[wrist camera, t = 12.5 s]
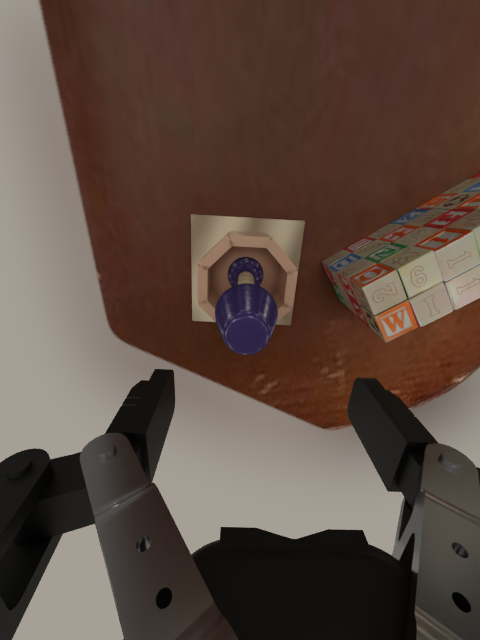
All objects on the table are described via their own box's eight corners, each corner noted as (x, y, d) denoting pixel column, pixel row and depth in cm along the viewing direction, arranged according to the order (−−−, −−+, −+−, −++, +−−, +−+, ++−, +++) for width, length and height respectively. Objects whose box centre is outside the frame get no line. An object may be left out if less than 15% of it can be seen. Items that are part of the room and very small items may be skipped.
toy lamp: (246, 301, 33) (255, 380, 18) (215, 279, 32) (195, 342, 16) (270, 270, 32) (304, 326, 16) (239, 246, 31) (242, 281, 15)
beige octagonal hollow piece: (290, 234, 31) (302, 239, 25) (280, 314, 35) (289, 333, 29) (204, 229, 31) (197, 233, 25) (203, 310, 34) (197, 329, 29)
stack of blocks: (493, 161, 30) (653, 131, 18) (504, 213, 32) (653, 215, 20) (319, 261, 34) (361, 288, 22) (338, 302, 36) (386, 345, 24)
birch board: (302, 220, 32) (305, 221, 31) (288, 321, 37) (290, 325, 35) (192, 214, 31) (190, 214, 30) (193, 317, 36) (192, 320, 35)
